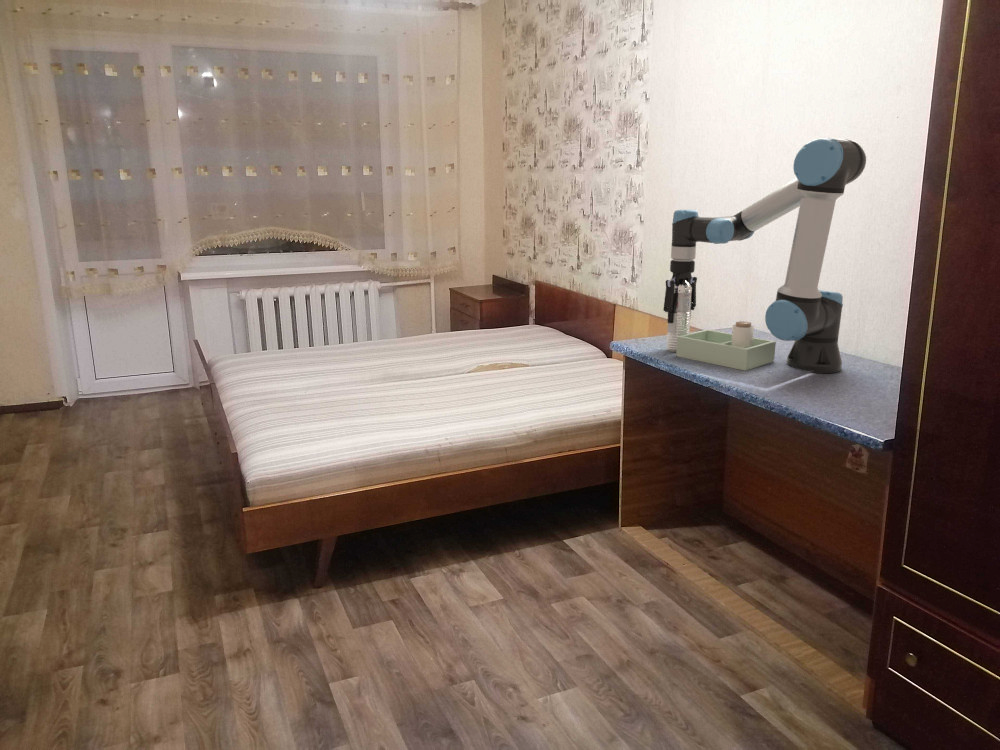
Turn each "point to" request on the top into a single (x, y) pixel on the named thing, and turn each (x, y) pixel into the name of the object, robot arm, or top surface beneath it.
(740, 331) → the jar
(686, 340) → the tote
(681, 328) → the water bottle
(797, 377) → the top surface
